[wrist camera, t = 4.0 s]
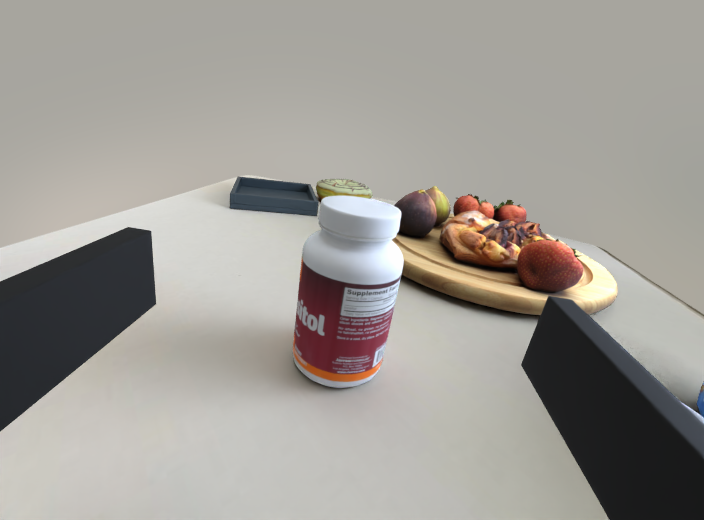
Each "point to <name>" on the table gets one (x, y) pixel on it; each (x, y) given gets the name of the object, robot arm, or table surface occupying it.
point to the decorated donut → (342, 188)
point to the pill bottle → (347, 291)
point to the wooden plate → (494, 256)
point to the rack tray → (273, 196)
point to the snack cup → (701, 401)
